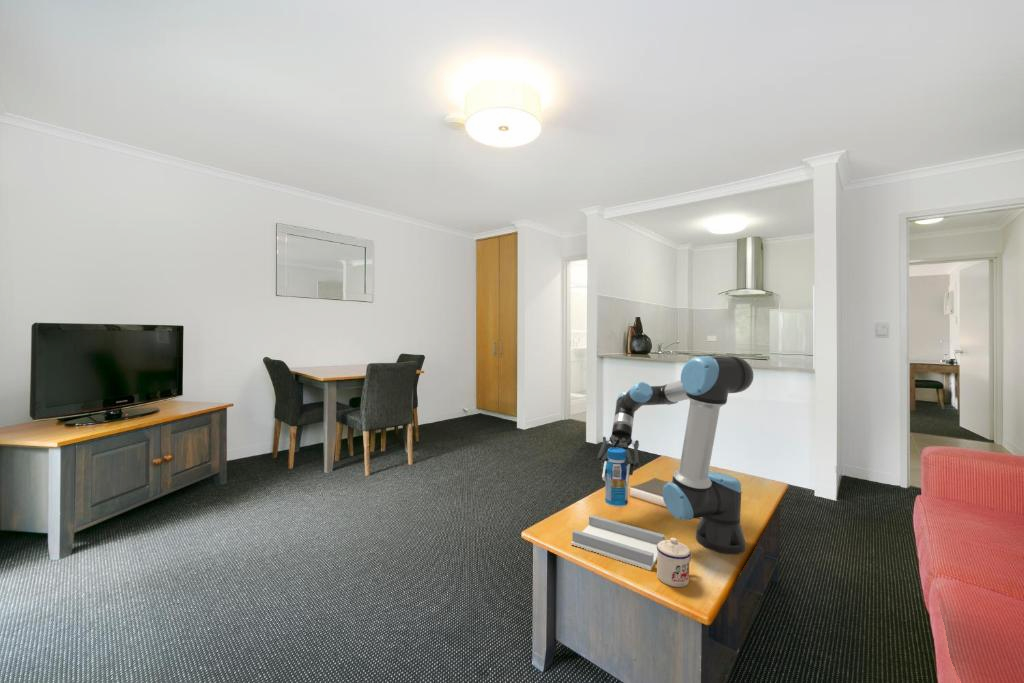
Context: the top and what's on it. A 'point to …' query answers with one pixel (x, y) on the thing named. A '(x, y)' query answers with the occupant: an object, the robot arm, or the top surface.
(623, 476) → the beverage bottle
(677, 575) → the teacup with lid
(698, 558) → the top surface
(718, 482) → the robot arm
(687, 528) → the top surface
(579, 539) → the tray
